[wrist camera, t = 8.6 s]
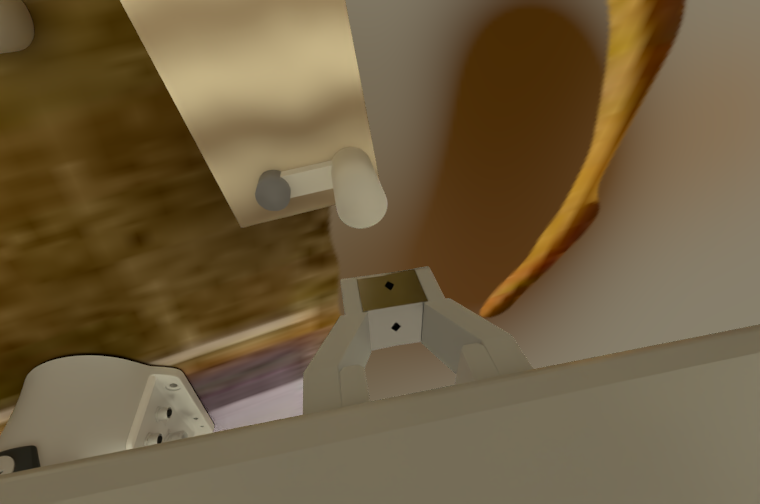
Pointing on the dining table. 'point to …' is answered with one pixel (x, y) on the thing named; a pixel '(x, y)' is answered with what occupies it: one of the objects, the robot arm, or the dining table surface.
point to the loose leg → (15, 26)
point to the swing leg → (330, 187)
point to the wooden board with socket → (259, 88)
